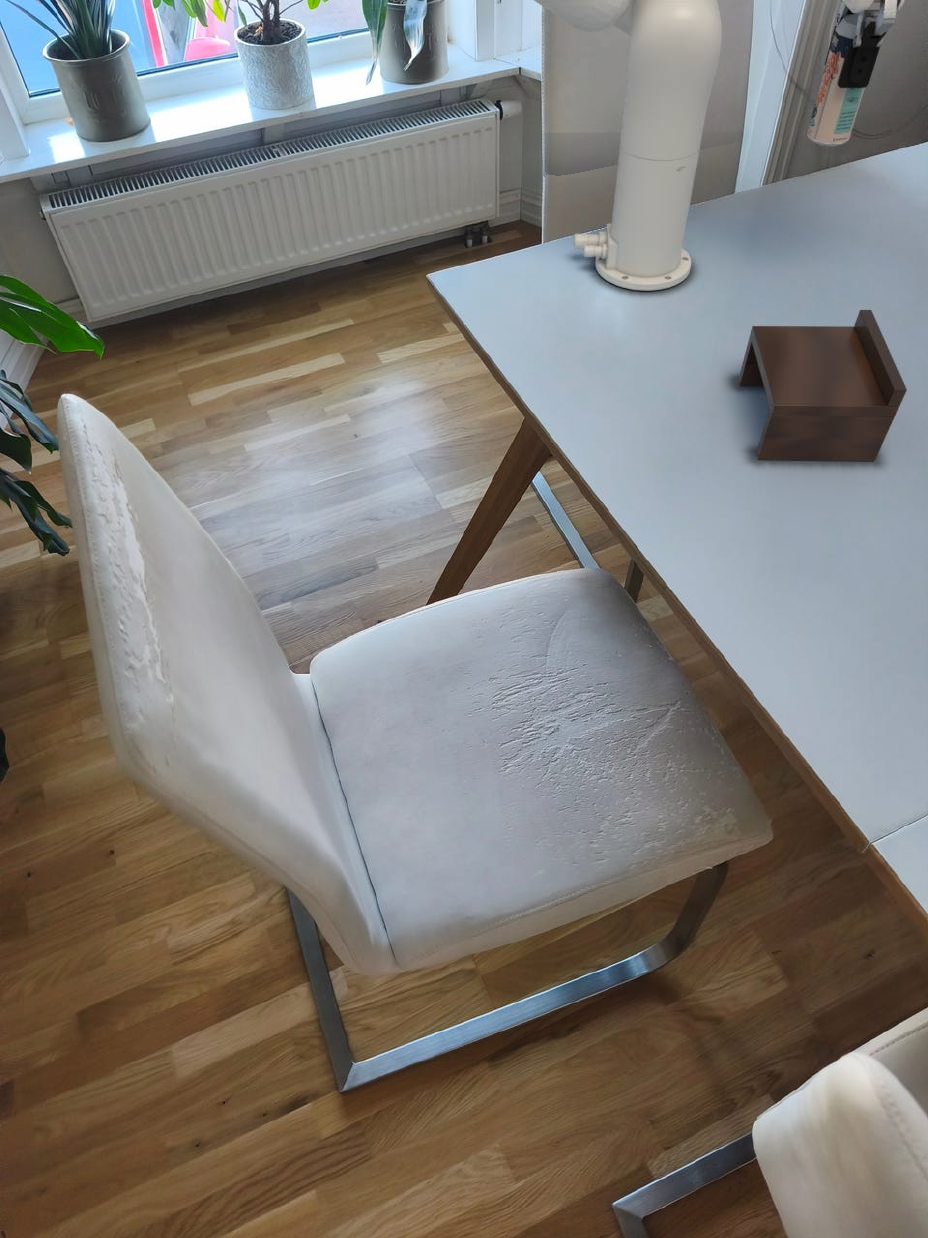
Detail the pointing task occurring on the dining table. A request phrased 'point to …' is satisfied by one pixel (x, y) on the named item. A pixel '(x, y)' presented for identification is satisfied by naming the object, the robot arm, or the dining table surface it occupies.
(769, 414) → the shelf
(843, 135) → the beer can
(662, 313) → the dining table surface
